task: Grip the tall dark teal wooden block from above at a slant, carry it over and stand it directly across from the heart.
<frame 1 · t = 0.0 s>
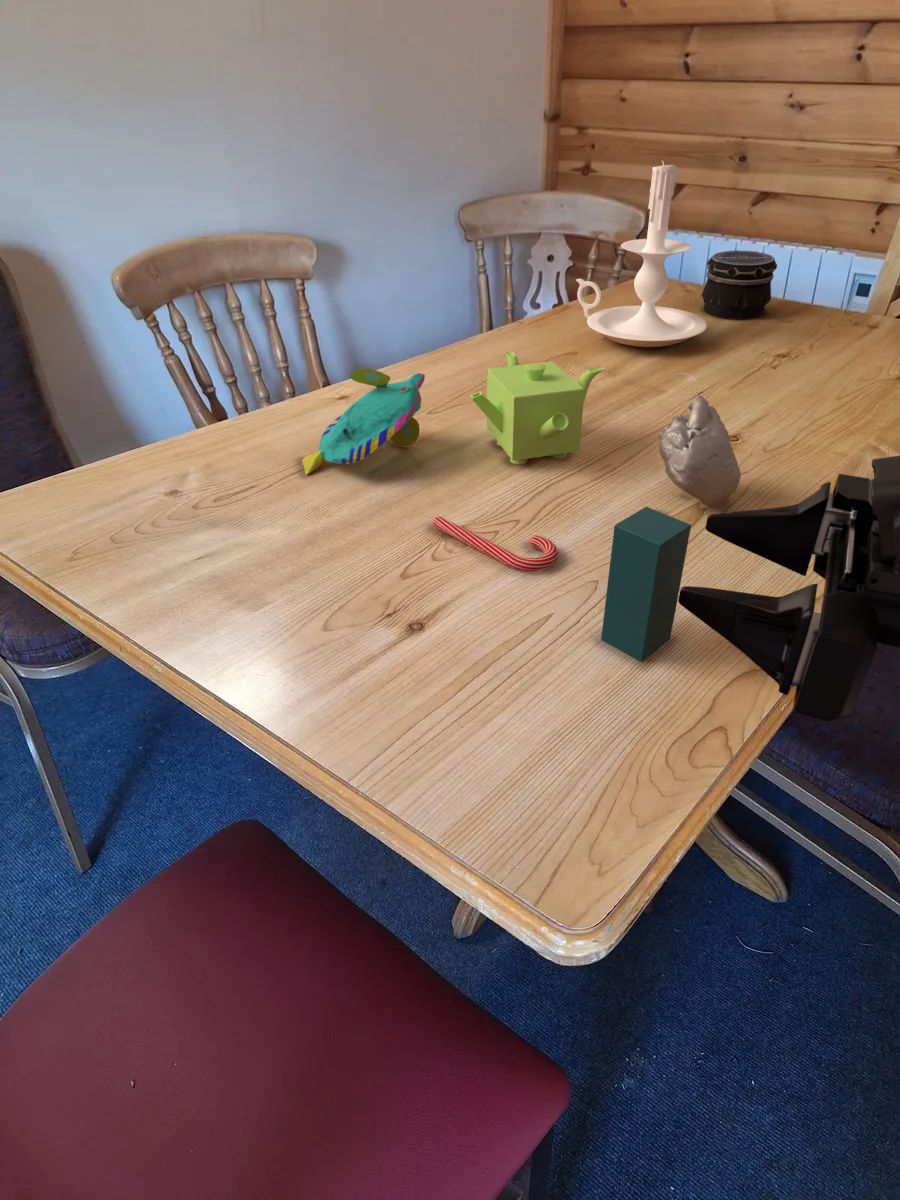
hand: (694, 555, 49), 17 cm above the table, tool horizontal, fingers open, 9 cm apart
container: (733, 312, 151), on the table
candy cane: (492, 546, 84), on the table
candlestick: (633, 339, 140), on the table
heart: (693, 502, 91), on the table
kettle: (534, 448, 103), on the table
decorative fish: (369, 459, 102), on the table
block: (635, 640, 70), on the table
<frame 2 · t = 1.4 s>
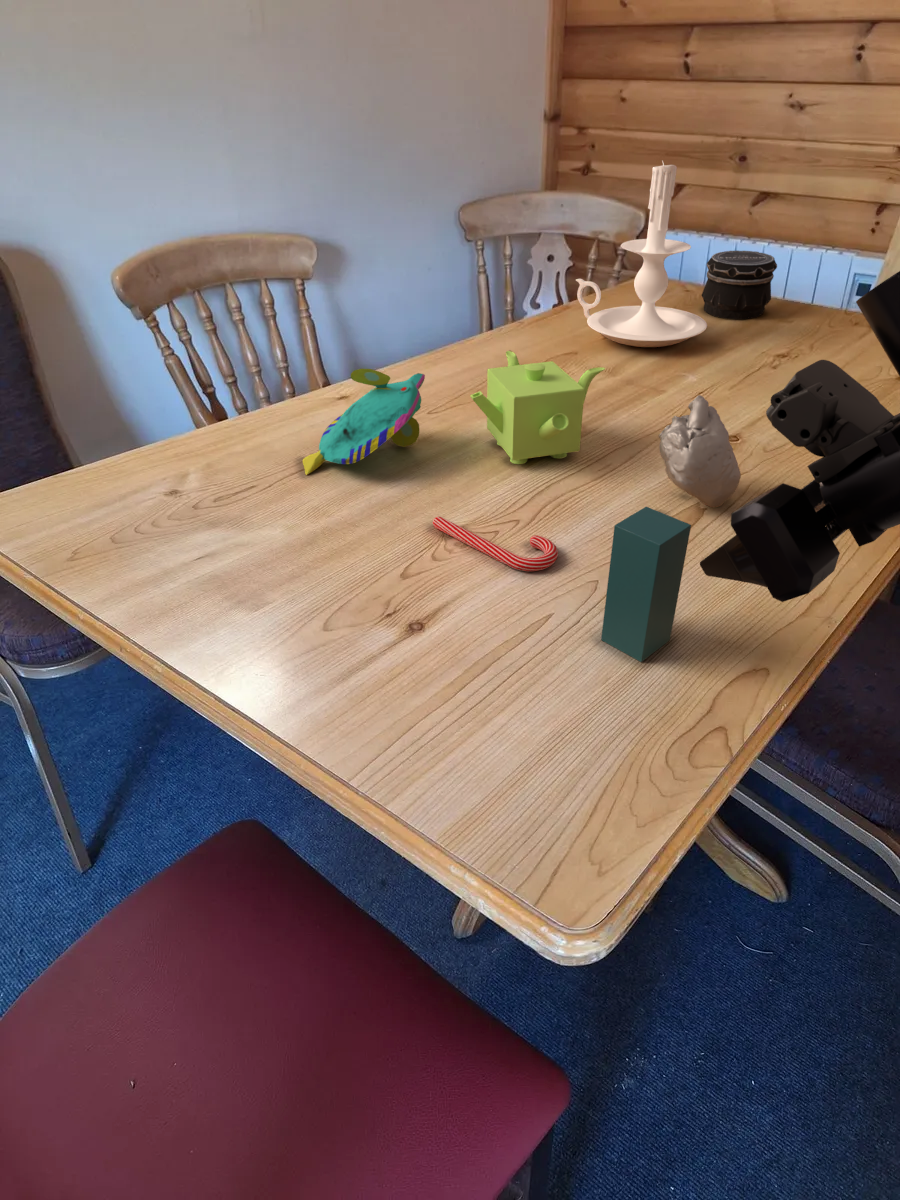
hand: (737, 544, 58), 13 cm above the table, tool tilted 45°, fingers open, 9 cm apart
nothing on the table moved.
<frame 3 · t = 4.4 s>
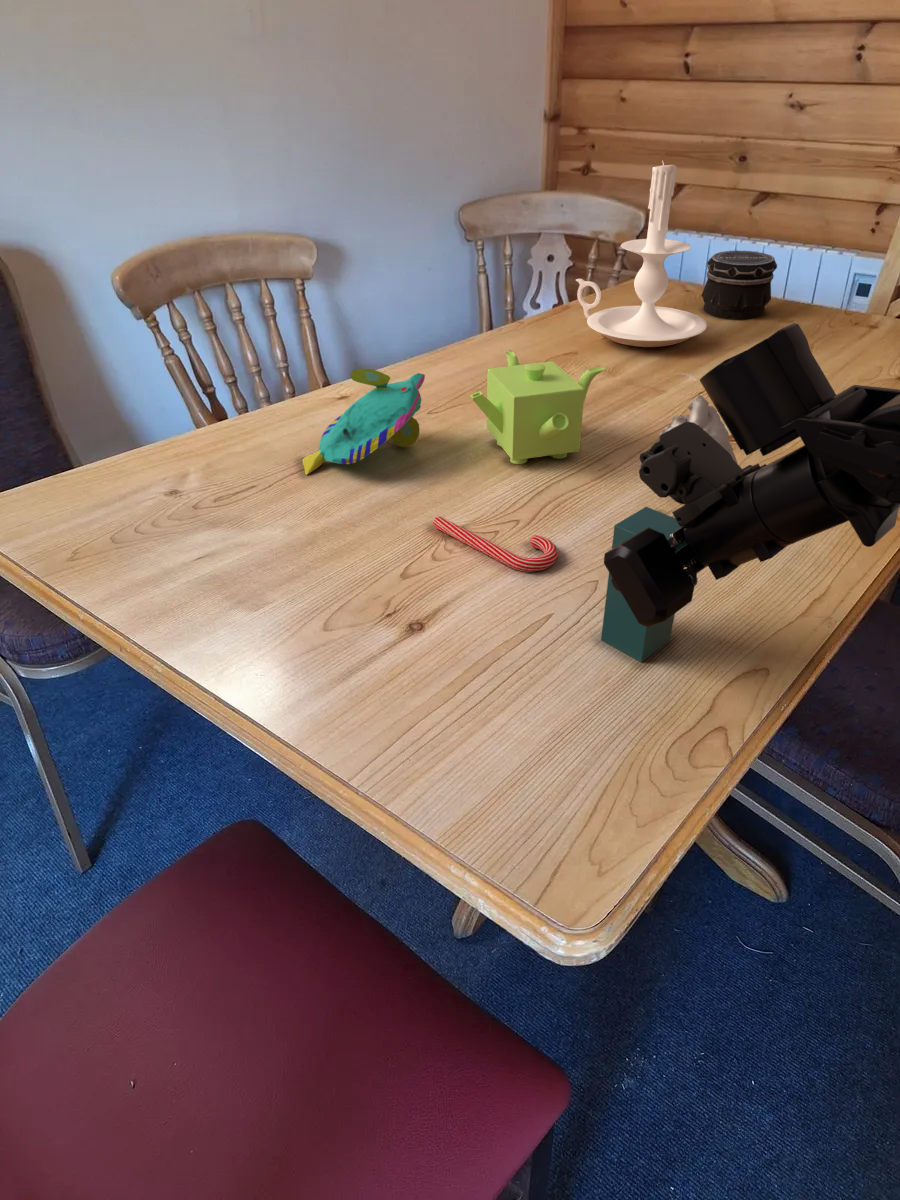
hand: (631, 573, 67), 7 cm above the table, tool tilted 45°, fingers closed on block, 4 cm apart
block: (635, 640, 70), on the table, touching gripper
everything else where it was.
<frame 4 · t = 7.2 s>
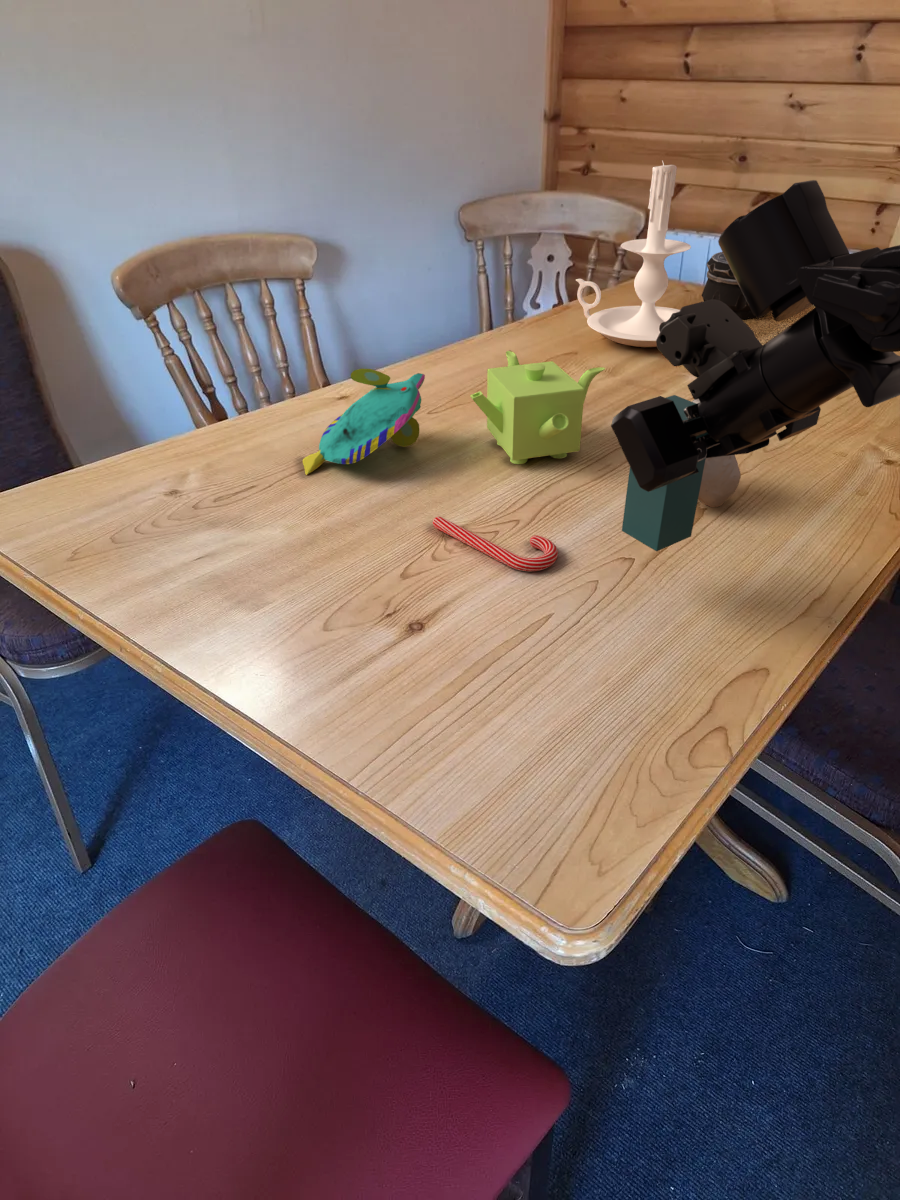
hand: (654, 462, 68), 14 cm above the table, tool tilted 45°, fingers closed on block, 4 cm apart
block: (656, 533, 71), point 7 cm above the table, touching gripper
everything else where it was.
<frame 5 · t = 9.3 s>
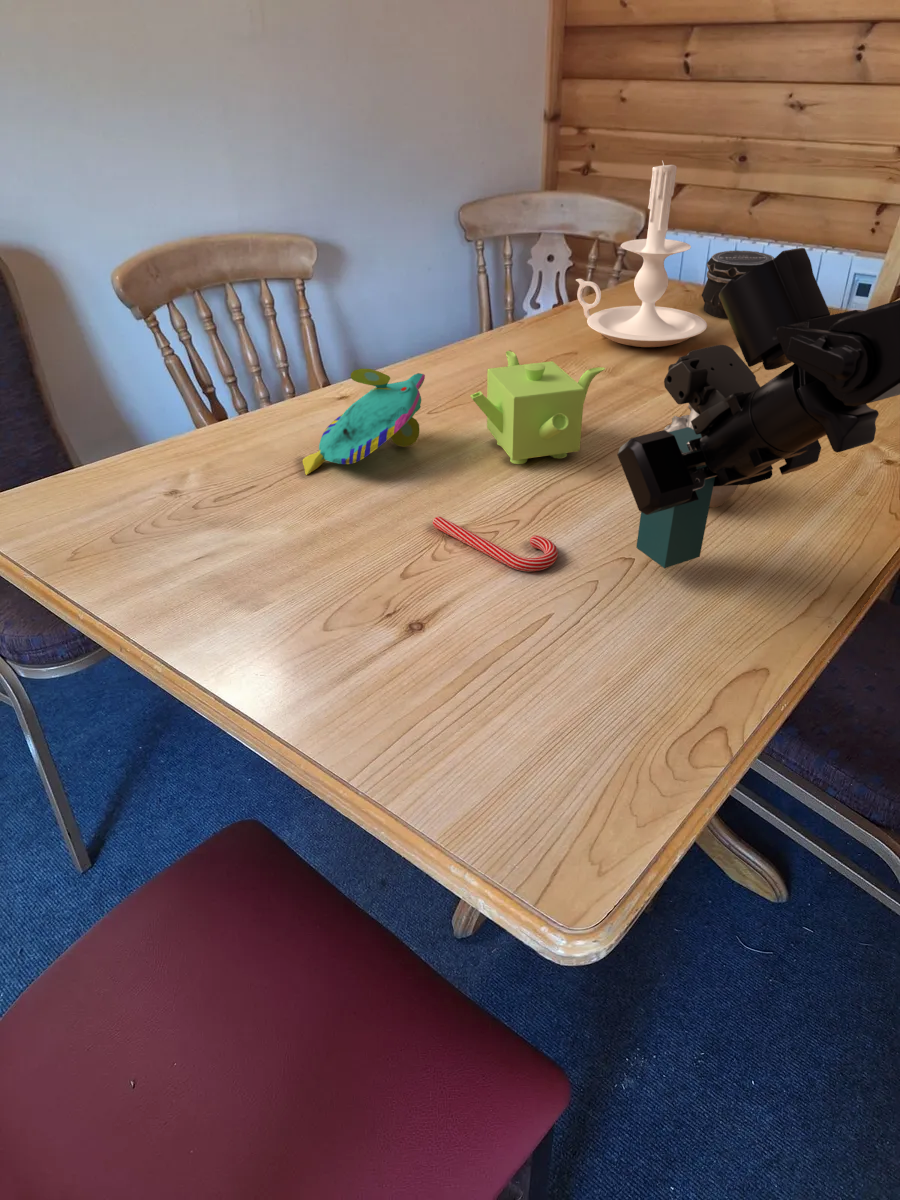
hand: (668, 487, 74), 9 cm above the table, tool tilted 45°, fingers closed on block, 4 cm apart
block: (667, 552, 77), point 2 cm above the table, touching gripper
everything else where it was.
when the fingers open (7 cm above the table, at t = 10.4 s): block stays where it is, on the table.
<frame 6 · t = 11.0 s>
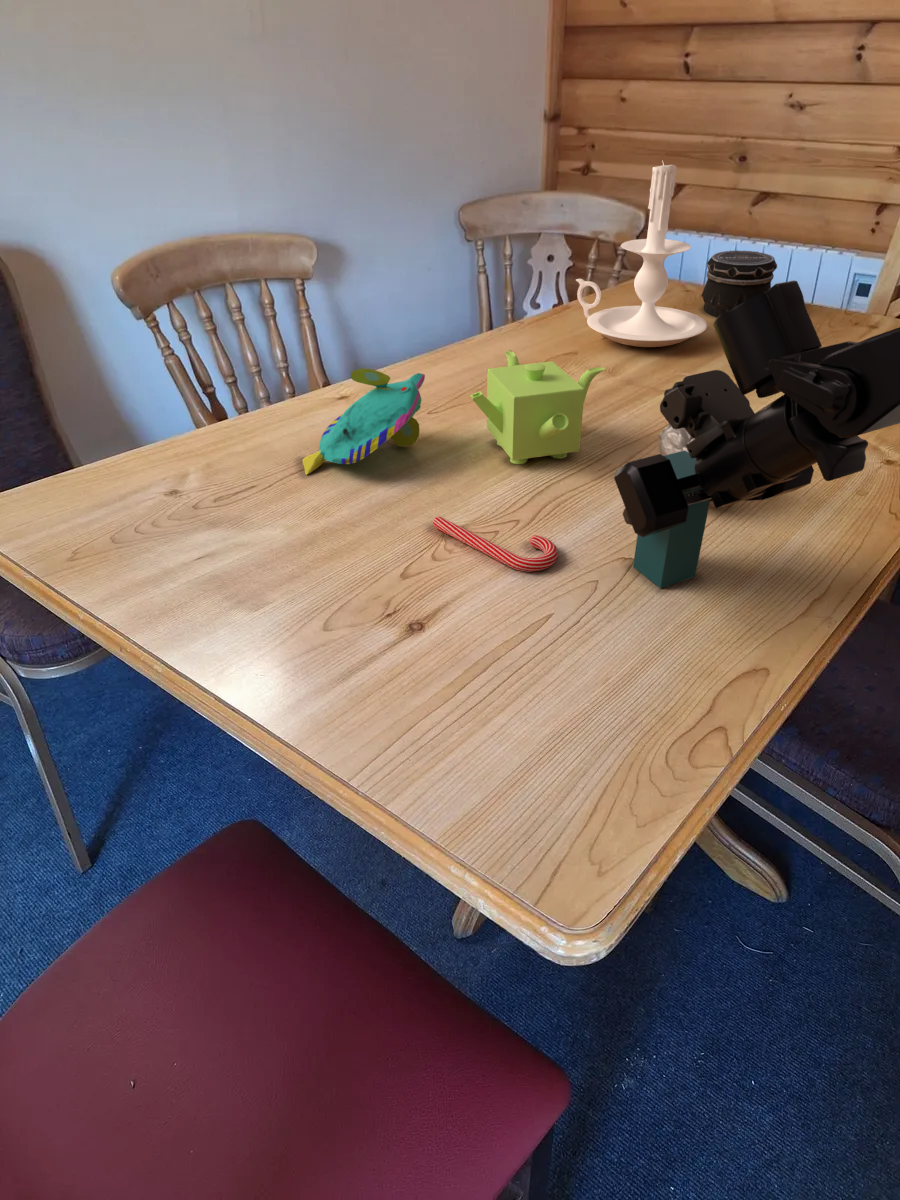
hand: (663, 506, 76), 7 cm above the table, tool tilted 45°, fingers open, 9 cm apart
block: (663, 571, 79), on the table
everything else where it was.
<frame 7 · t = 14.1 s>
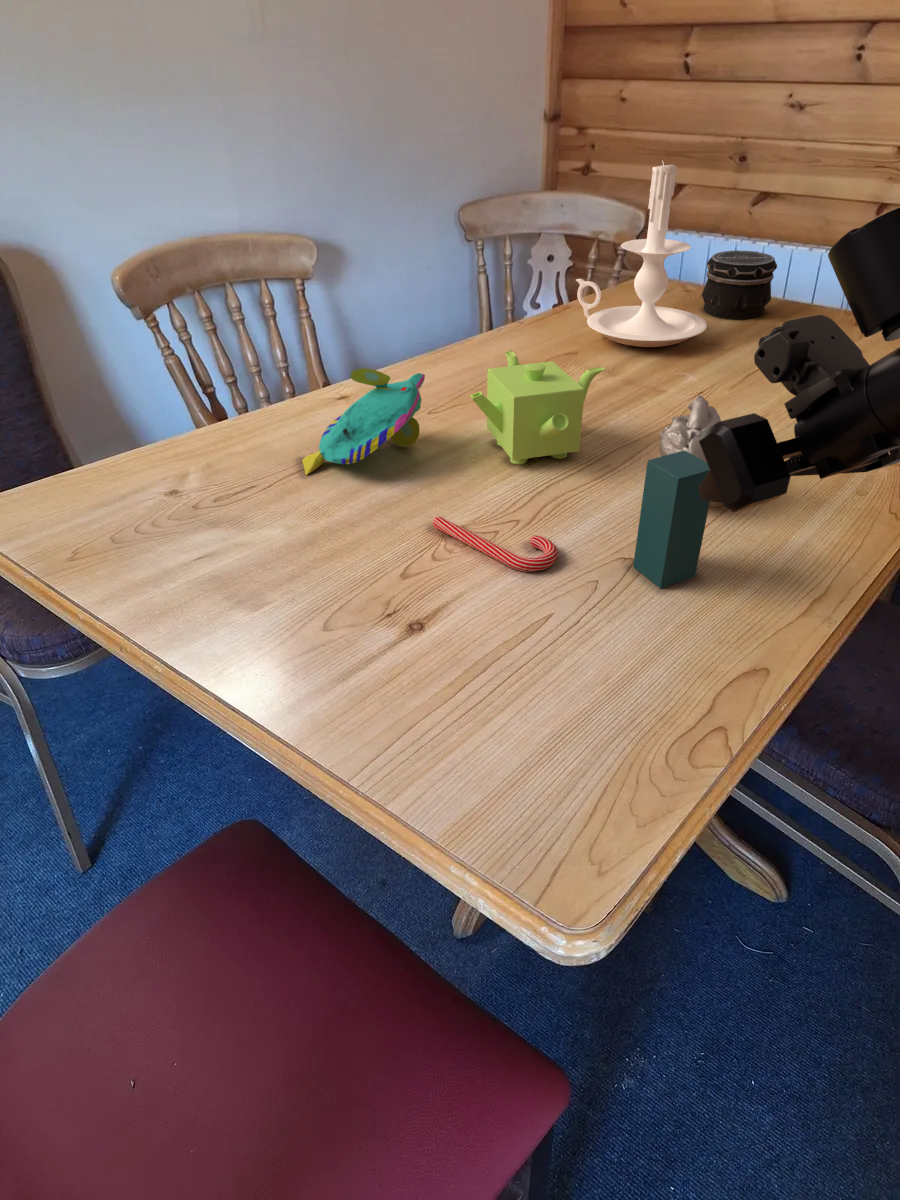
hand: (744, 481, 65), 14 cm above the table, tool tilted 45°, fingers open, 9 cm apart
nothing on the table moved.
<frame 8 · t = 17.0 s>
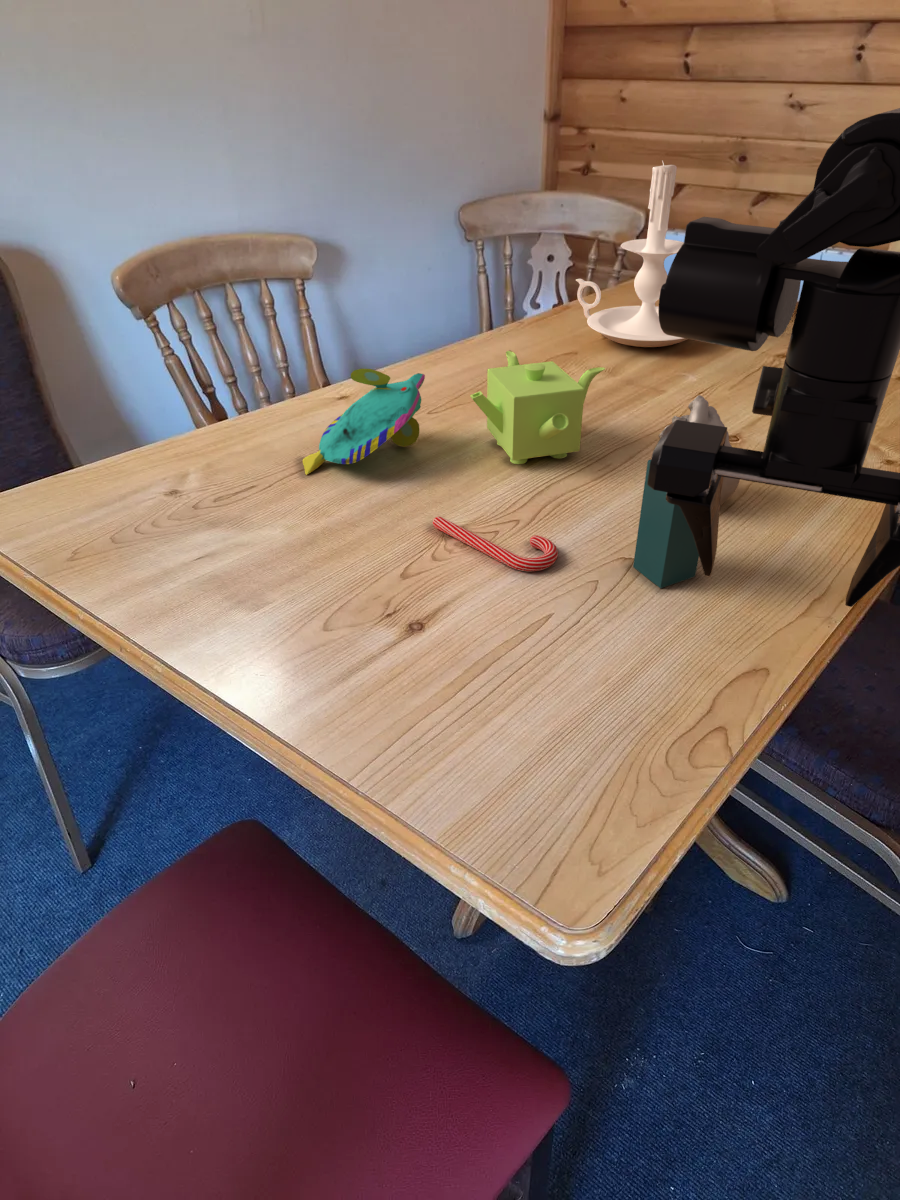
hand: (776, 587, 54), 13 cm above the table, tool pointing down, fingers open, 9 cm apart
nothing on the table moved.
at the end: block inside the target area on the table beside the heart (0.0 cm from its centre), on the table; block tilted 0°; the gripper is holding nothing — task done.
